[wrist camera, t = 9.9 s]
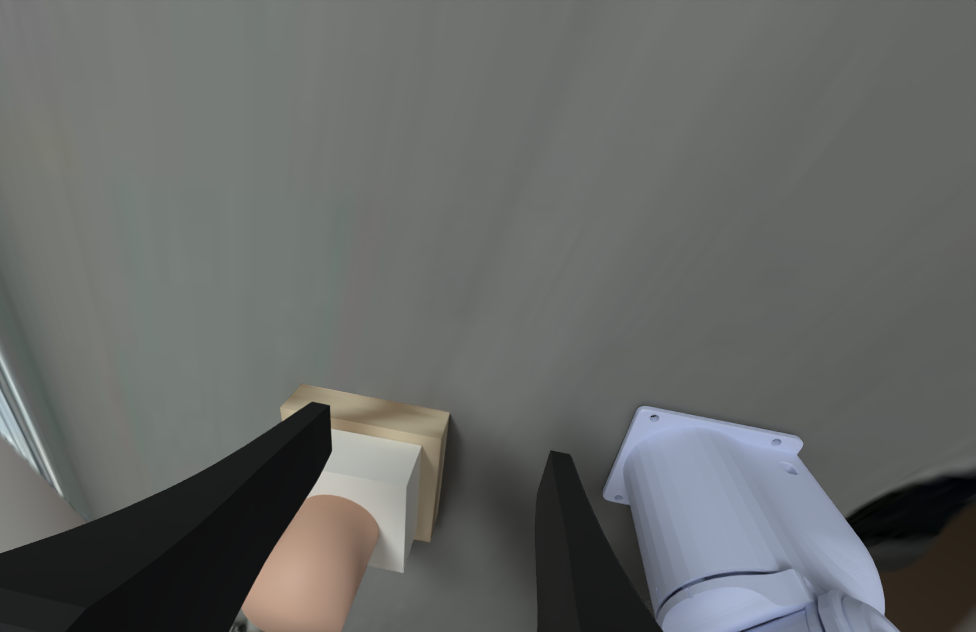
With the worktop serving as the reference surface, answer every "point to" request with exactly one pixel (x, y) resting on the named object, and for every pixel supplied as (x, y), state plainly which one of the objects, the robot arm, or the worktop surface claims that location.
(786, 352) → the worktop surface
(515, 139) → the worktop surface
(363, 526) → the cylinder
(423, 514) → the tower base
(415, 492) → the tower top
